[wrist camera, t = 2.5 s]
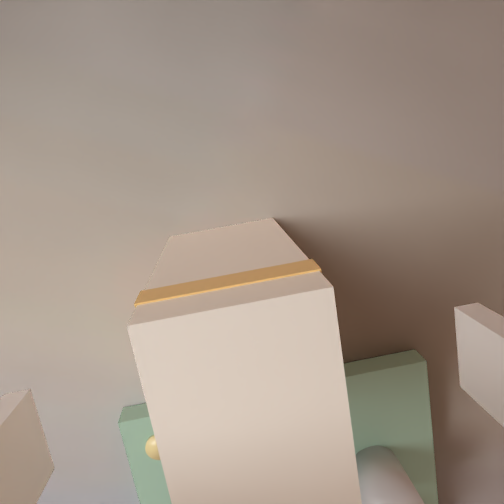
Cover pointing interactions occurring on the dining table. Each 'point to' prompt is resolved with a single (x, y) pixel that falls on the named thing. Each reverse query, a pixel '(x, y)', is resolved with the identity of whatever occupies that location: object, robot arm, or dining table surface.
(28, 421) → the robot arm
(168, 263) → the plug
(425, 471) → the board
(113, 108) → the dining table surface
